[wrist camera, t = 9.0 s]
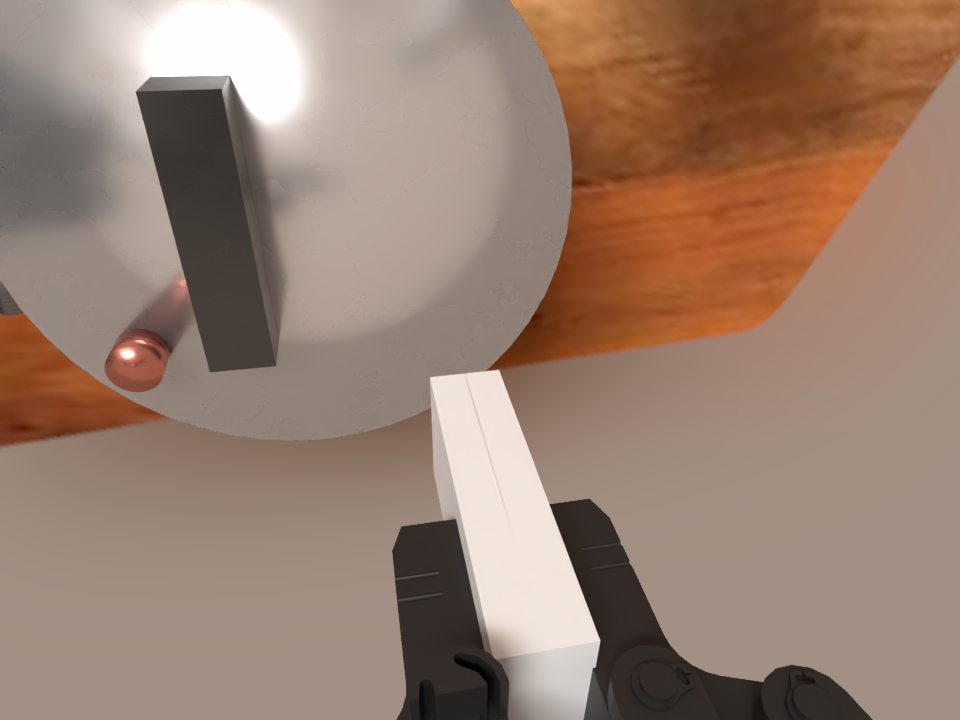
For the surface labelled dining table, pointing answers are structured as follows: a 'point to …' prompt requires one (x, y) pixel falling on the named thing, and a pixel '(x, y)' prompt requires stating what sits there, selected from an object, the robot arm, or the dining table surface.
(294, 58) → the lid
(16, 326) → the dining table surface
